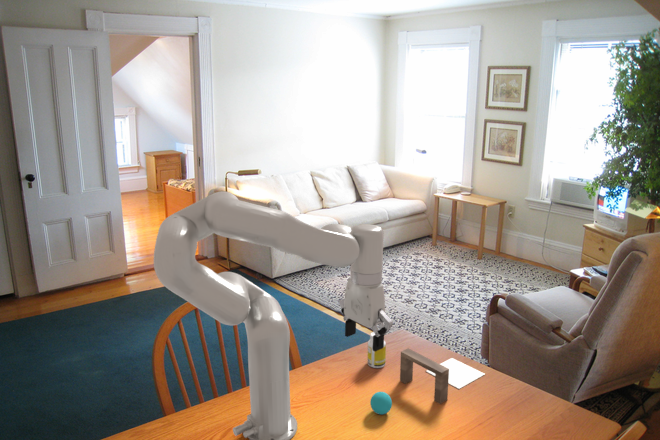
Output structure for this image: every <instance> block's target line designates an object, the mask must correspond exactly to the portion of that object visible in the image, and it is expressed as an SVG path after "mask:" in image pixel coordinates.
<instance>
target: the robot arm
mask: <svg viewBox="0 0 660 440" xmlns="http://www.w3.org/2000/svg"><path fill="white" fill-rule="evenodd" d="M213 234H215V235H217V236H219V237H223V238H226V239H227V238H228V239H232V240H236V241H241V242H247V243H249V244H255V245H259V246H265V247H269V248H273V249H276V250H277V251H280V252H282V253H285V254H288V255H291V256H294V257H297V258H300V259H302V260H306V261H308V262H311V263H314V264H315V263H316V264H321V265H325V266H330V267H335V268H346V267H349V266H350V267H349V272H350V277H349V278H348V279H347V283H346V287H345V290H344V292H345V293H344V298H343V299H340V300H339V301H338V302H339V306H340V309H341V310H340V311H341V313H342V315H343V321H345V323H344V336H345V337H346V338H347V337H348V338H349V337H351V336H353V335H356V333H357V324H359V325H361V326H363V327H365V328H370V329H371V328H372V331H373V332H374V333H375V335H374V336H373V351H378V350H380V349H382V348H383V347H384V341H385V335H386V334H388V332H389V331H391V328H392V326H393V324H394V322H393V320H392V319H391V318H390V317H389V316H388V315H387V313H386V299H385V289H384V284H383V283H382V282H383V262H384V261H383V260H384V259H383V258H384V257H383V255H384V239H385V238H384V236H385V235H384V230H383V228H382V227H380V226H379V225H376V224H372V223H362V224H357V225H350V224H349V225H348V224H342V223H341V224H339V223H329V224H326V225H323V226H322V227H321V228H320V227H319V228H318V227H316V226H313V225H311V224H308V223H306V222H303V221H302V220H300V219H299V218H297V217H295V216H294V215H292V214H290V213H288V212H286V211H284V210H281V209H276V208H272V207H269V206H268V207H267V206H264V205H260V204H256V203H253V202H252V203H251V202H248V201H244V200H239V199H238V197H237V196H236V195H235V194H233V193H232V192H230V191H222V190H221V191H217V192H214V193H212V194H210V195H207V196H206V197H203V198H202V199H200V200H198V201H196V202H193V203H192V204H190V205H187V206H186V207H184V208H182V209H180V210H178V211H177V212H176V211H175V212H174V213H173V214H170V215H169V216H167V217H166V218H165V219H164V220H163V221H162V222H161V224H160V226H159V228H158V232H157V235H156V239H155V244H154V250H153V251H154V252H153V269H154V271H155V275H156V278H158V280H159V282H160V283H161V284H162V285H163V287H165V288H166V289H167V290H168V291H171V292H172V293H173V294H175V295H176V296H178V297H180V298H182V299H183V300H184V301H186V302H188V303H189V304H191V305H192V306H194V307H196V309H199V310H200V311H202V312H203V313H205V314H206V315H208V316H209V317H211V318H213V319H214V320H216V321H217V322H218V323H220V324H222V325H226V326H237V325H240V324H241V323H244V327H245V331H246V337H247V363H248V367H247V368H248V382H249V398H250V400H249V401H250V413H249V414H247V415H246V420H245V421H244V422H243V423H242V424H239V425H237V426H234V427H233V428H232V432H233V435H234V436H235V437H237V436H239V435H241V434H242V436H243V437H244V439H248V440H291V439H292V438H293V437H294V436H295V435H296V432H297V430H298V421H297V419H296V418H295V416H294V415H292V413H291V392H290V391H291V389H290V386H291V385H290V343H291V333H290V332H291V331H290V327H289V323H288V319H287V318H286V315H285V313H284V312H283V310H282V307H281V305H280V303H279V301H278V300H277V299H276V298H275V297H274V296H273V295H271V294H270V293H268V291H267V292H266V291H265V290H264V289H262V288H261V287H259V286H258V285H256V284H255V283H253V282H252V281H250V280H249V279H247V278H246V277H244V276H242V275H241V274H239V273H236V272H232V271H222V272H219V273H217V272H215V271H214V270H213V269H211V268H209V267H208V266H206V265H204V264H202V263H200V262H198V260H197V259H196V252H197V250H198V242H200V241H202V240H204V239H206V238H208V237H209V236H211V235H213ZM378 327H379V328H378Z"/></svg>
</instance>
